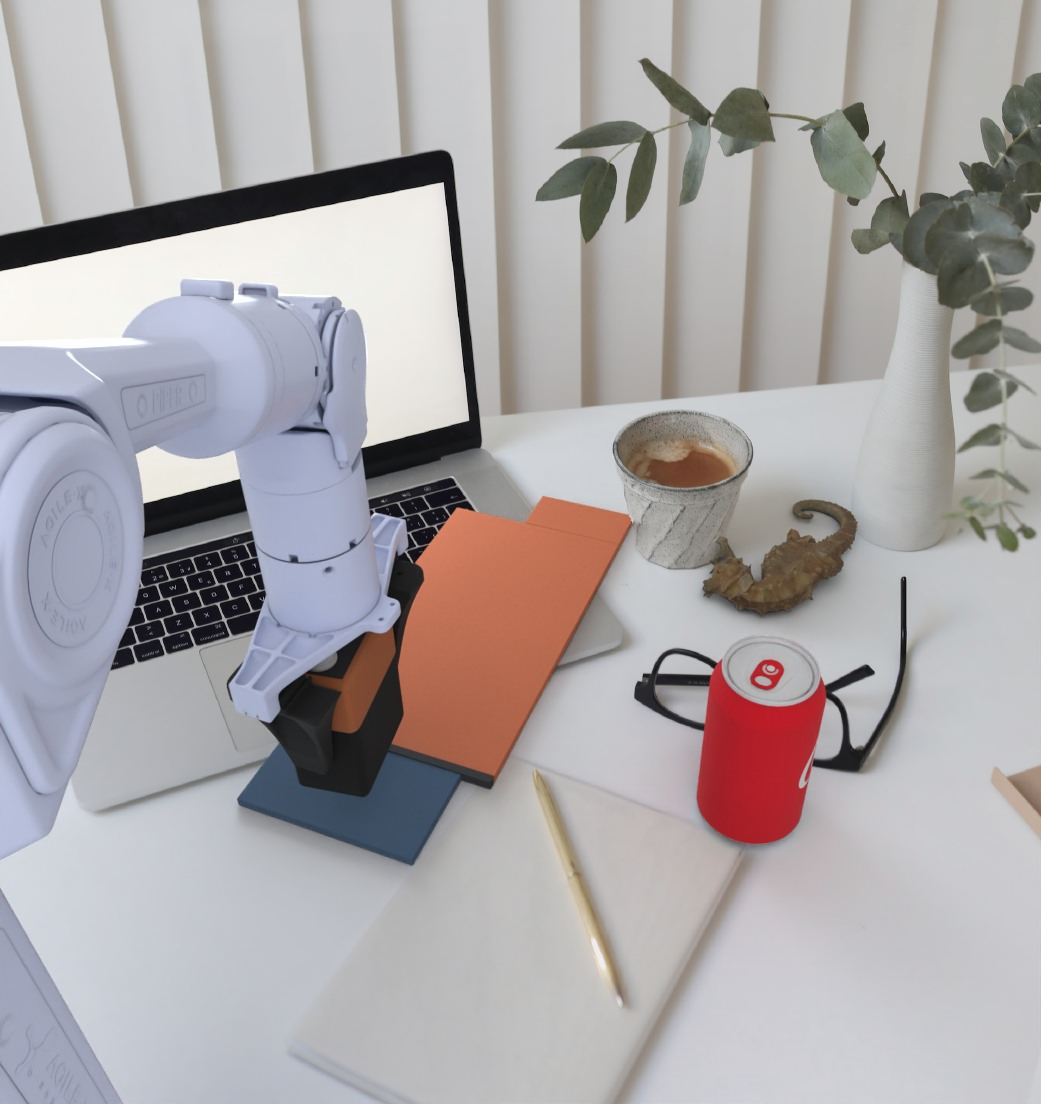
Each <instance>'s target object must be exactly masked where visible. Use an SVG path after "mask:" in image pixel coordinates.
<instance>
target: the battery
mask: <svg viewBox="0 0 1041 1104" xmlns="http://www.w3.org/2000/svg"><path fill="white" fill-rule="evenodd" d="M305 676H311V677H312V681H313V683H314V684H317V685H320V686H324V687H327V688H330V689H334V690H337V691H340V692H342V693H341V695H340V697H339V699H338V701H337V703H336V706H335V709H334V713H333V718H332V729H331V730H332V744H333V761H332V765H331V767H330V769H329V770H328V771H327V773H326V774H324V775H322V774H319V773H316V772H313V771H310V770H307V769H304V768H301V767H298V766H295V769H296V773H297V778H298V781H299V784H300V785H302V786H305V787H310V788H315V789H320V790H325V791H331V792H336V793H341V794H346V795H352V796H357V797H366V796H367V795H368V794H369V793H370V791H371V789H372V787H373V785H374V782H375V780H376V778H377V776H378V773H379V771H380V769H381V766H382V764H383V762H384V760H385V757H386V755H387V753H388V750H389V748H390V746H391V744H392V741H393V739H394V737H395V734H396V732H397V730H398V728H399V725H400V723H401V721H402V718H403V716H404V710H403V702H402V694H401V686H400V679H399V671H398V663H397V656H396V648H395V640H394V633H393V626H392V627H391V628H390V629H389V630H388V631H387V632H385V633H374V632H370V631H367V632H364V633H363V634H361V635H360V636H358V637H357V638H355V639H354V640H352V641H351V642H349V643H348V644H346V645H345V646H344V647H342V648H341V649H339V650H338V651H336V652H335V653H333V654H332V655H330V656H329V657H327V658H326V659H325V660H323V661H322V662H320V663H319V664H317V665H316V666H314V667H313V668H311V669H310V670H308V671H307V672H306V673H305Z"/></svg>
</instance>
